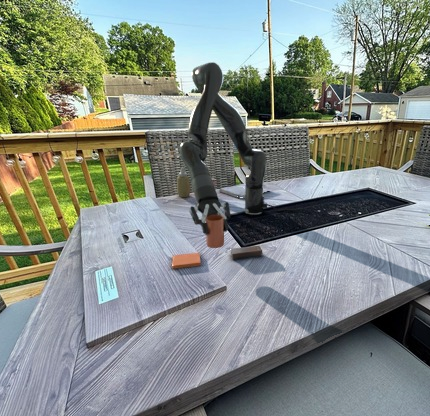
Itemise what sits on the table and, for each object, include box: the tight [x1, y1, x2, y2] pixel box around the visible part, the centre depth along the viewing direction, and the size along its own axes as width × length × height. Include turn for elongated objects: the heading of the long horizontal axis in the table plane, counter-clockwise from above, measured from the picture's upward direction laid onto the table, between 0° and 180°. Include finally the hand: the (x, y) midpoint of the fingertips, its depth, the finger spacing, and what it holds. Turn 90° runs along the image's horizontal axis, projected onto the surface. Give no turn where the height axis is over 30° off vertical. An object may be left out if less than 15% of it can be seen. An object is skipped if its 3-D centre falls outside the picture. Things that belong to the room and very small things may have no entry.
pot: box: [205, 215, 225, 249], centre depth 90 cm, size 6×6×10 cm
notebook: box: [219, 183, 245, 200], centre depth 177 cm, size 22×2×28 cm
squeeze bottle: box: [176, 166, 192, 198], centre depth 158 cm, size 8×8×18 cm
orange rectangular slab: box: [172, 252, 202, 270], centre depth 91 cm, size 9×7×1 cm
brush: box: [230, 245, 263, 261], centre depth 96 cm, size 11×4×3 cm, turn 108°
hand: (216, 232), depth 89 cm, fingers closed on pot, 6 cm apart
